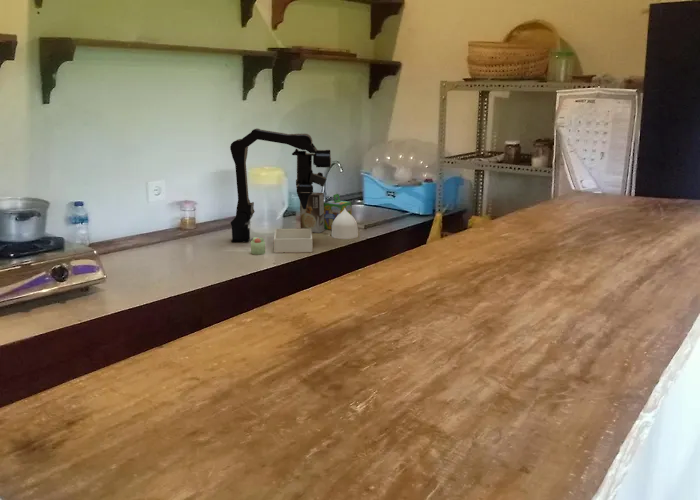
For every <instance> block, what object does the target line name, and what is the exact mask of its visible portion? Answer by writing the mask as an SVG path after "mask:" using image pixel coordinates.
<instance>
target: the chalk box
mask: <svg viewBox="0 0 700 500" xmlns="http://www.w3.org/2000/svg"><path fill="white" fill-rule="evenodd" d="M332 197H333V199H332V200H329V201H326V202H325V201H324V229H325V230H328V231H329V230H331V231H332V223H333V221H334V219H335V218H336V217H337V216H338V215H339V214H340V213H341V212H342V211H343V210H344V208H345V209H346V211H347V212H348V213H349V214H350V215H352V212H353V211H352V202H351V201H346V200H341V197H340V194H339V193H336V194H333V195H332ZM336 198H337V199H336Z"/></svg>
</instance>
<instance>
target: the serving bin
mask: <svg viewBox="0 0 700 500" xmlns="http://www.w3.org/2000/svg"><path fill="white" fill-rule="evenodd" d="M273 235H274V237H273V253H276V254H277V253H283V252H285V253H313V232H312V231H311V229H301V228H275V229H274V234H273Z"/></svg>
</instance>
